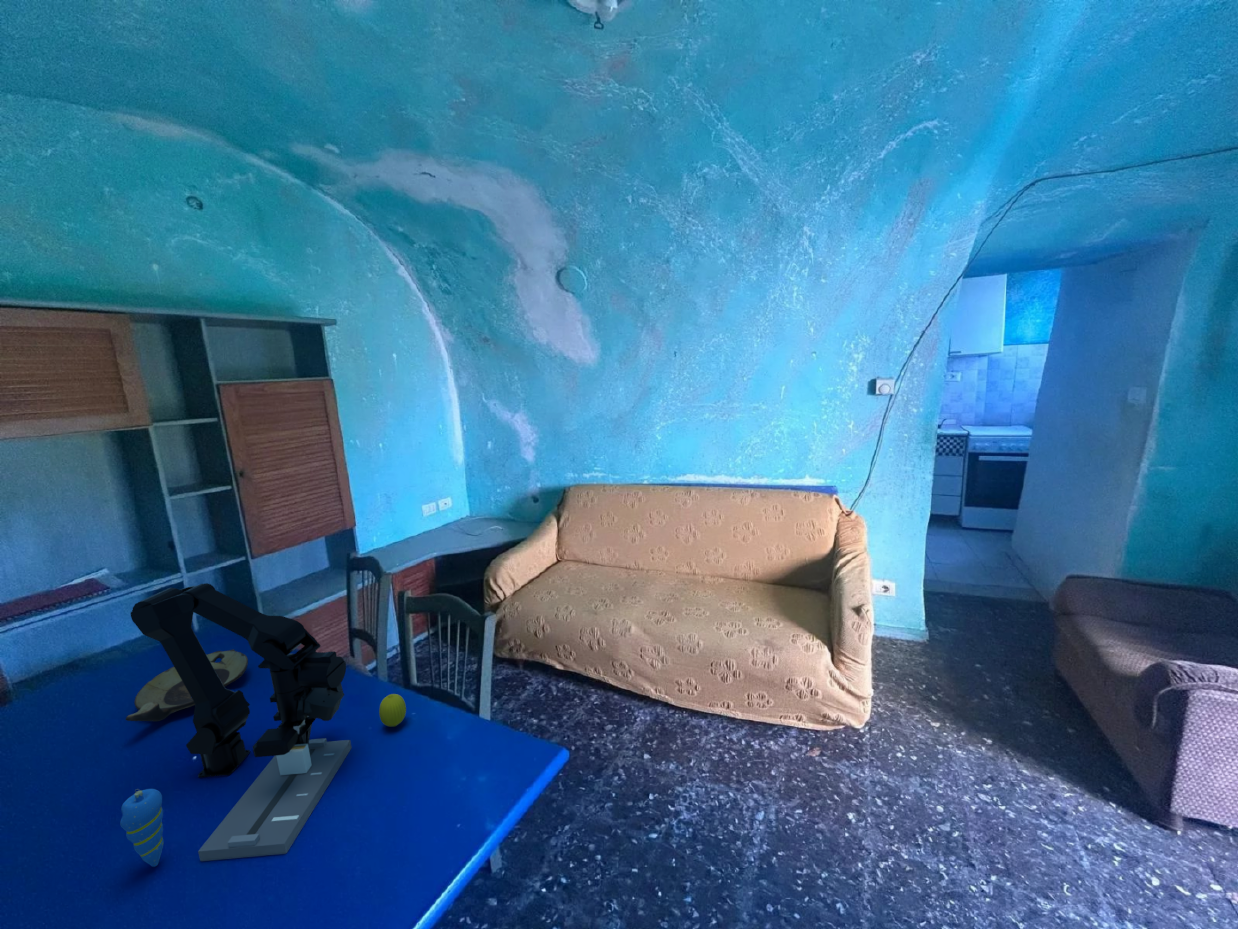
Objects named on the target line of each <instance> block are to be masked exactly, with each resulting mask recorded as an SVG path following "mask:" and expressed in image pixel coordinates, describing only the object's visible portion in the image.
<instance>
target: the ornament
mask: <svg viewBox="0 0 1238 929" xmlns="http://www.w3.org/2000/svg"><path fill="white" fill-rule="evenodd" d="M136 790H137V789H135V790H134V792H135V793H134V794H132V795H131V796H129V797H128V798H127V799H126V800H125V801H124V802H123V803H122V806H121V807H120V808H121V814H122V816H121V819H120V822H119V823H120V824H119V825H120V827H121V828H122V829H123V830H124V831H126V833H125V835H126V836H125V837H126V839H127V840H128V841H129V842H130V843H132V844H133V849H134V851H135V852H136V853H137V854H138V855H139V856H140V858H141V860H142V861H143V862H144V863H146V864H148V865H149V866H151V867H152V868H155V867H157V866H158V865H159V863H160V858H161V855H162V852H163V848H164V844H165V843H164V842H165V841H164V840H165V839H164V836H163V832H164V824H163V822H162V820H163V817H164V809H163V807H162V805H163V804H162V803H163V795H162V793H161V791H160V790H157V789H156V788H146V789H143V790H140V789H138V791H136Z"/></svg>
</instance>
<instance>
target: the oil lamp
mask: <svg viewBox="0 0 1238 929" xmlns="http://www.w3.org/2000/svg"><path fill="white" fill-rule="evenodd" d="M206 655H207V657H208V659H209V661H210V662H211V664H212V666H213V668H214V670H215V671H216V673H217V675H218V677H219V679H220V681H221V682H222V684H223V686H224V687H227V686H229V685H230V684H231V683H234V682H236V681H237V680H238V679H239V678H241V677H242V676H243V675H244V673H245V672H246V671H247V669H248V665H249V659H248V656H247V655H246V654H245V653H243V652H240V651H238V650H235V649H229V650H224V651H223V650H217V651H213V652H211V653H208V654H207V653H206ZM218 659H220V660H221V661H218V662H216V661H217V660H218ZM133 703H134V707H135V709H137V712H135V713H131V714H128V715H126V718H125V719H124V720H125V721H127V722H160V721H163V720H165V719H167V718H168V716H170V715H171V714H173V713H175V712H179V711H183V710H184V709H189V708H191V707H195V703H194V701H193V699H192V697H191V695H190V694H189V692H188V690H187V688H186V687H185V685H184V683H183V681H182V680H181V678H180V676H179V674H178V672H177V671H176V669H175V667H174V666H171V667H169V669H166V670H164V671H163V672H161V673H159V674H157V675H156V676H154V677H153V678H152V679H151V680H148V681H147V682H146V683H145V684H144V686H142V688H140V690H139V691H138V692H137V694H136V696H135V697H134V702H133Z"/></svg>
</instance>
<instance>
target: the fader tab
mask: <svg viewBox="0 0 1238 929" xmlns="http://www.w3.org/2000/svg"><path fill="white" fill-rule="evenodd" d="M276 757H277V762H278V767H279V772H280V775H290V774H302V773H307V771H308V770H309V769H310V767H311V766H312V764H311V758H310V753H309V748H308V744H297V745H294V746H293V747H292V749H291V750H290V751H289V752H288V753H286V754H285V755H276Z"/></svg>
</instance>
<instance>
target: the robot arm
mask: <svg viewBox="0 0 1238 929" xmlns="http://www.w3.org/2000/svg"><path fill="white" fill-rule="evenodd" d="M194 614H196V615H198V616H200V617H202V618H204V619H207V620H208V621H211V622H212V623H214V624H216V625H218V626H220V627H222V628H224V629H226V630H227V631H231V632H232V633H234V634H236V635H237V636H239V637H242V638H243V639H245V640H246V641H247V643H248V645H249V647H250V650H251V651H253V652H254V653H255V654H256V655H258V656H260V657H261V658H263V660H262V661H261V663H259V664H258V665H257V667H258V669H269V674H270V678H271V684H272V687H273V688H272V689H273V693H272V695H271V696H269V702H270V703H276V709H277V712H276V713H275V714H274V715H273V721H274V722H278V721H281V722H280V724H279V725H278V727H277V728H267V729H266V731H265V732H264V733H263V734H262V735H260V738H259V739H258V740H257V741H256V742H254V744H253V745H252V750H253V756H254V757H255V758H262V757H274V756H276V755H285V754H286V753H288V752H289V751H290V750H291V749H292V747H293V746H294V745H297V744H309V740H310V738H311V731H312V728H313V727H312V726H313V723H314V722H315V721H316V720H317V719H319V720H321V721H324V722H328V721H331V720H332V719H333V717H334V716H335V714H336V713H337V711H339V709H340V705H341V701H342V699H343V698H344V697H345V693H344V690H343V686H342V682H343V680H344V679H345V676H346V670H347V664H346V660H345V659H344V658H343V657H341V656H337V652H336V651H333V650H332V651H324V652H323V651H318V649H320V648H321V644H320V643H319V642H318V641H317V639H316V638H315V637H314V636H313V635H312V634H310V632H309V631H308V630H307V629H306V628H305V626H304V625H303V624H302V623H301V622H299V621H298V620H296V619H292V618H290V617H287V616H284V615H267V614H264V613H262V612H260V611H257V610H256V609H254V608H252V607H250V606H248V605H246V604H244V603H242V602H240V601H238V600H236V599H234V598H232V597H230V596H228V595H226V594H225V593H222V592H220V591H218V590H216V588H215V587H214V586H213V585H212V584H210V583H200V584H197V585H191V586H186V587H184V588H181V589H179V588H175V587H168V588H166V589H163V590H162V591H160V592H158V593H155V594H152V595H150V596H149V597H146V598H145V599H142V600H139V601H138V602H136V603H134V605H133V606H132V610H131V611H130V617H131V620H132V622H133V624H134V625H135V626H136V627H137V628H138V630H139V631H140V632H141V634H142V635H143V636H146V637H148V638H150V639H152V640H155V641H158V642H159V643H160V644H161V646H162V648H163V649H164V652H166V655H167V656H168V658H169V660H170V662H171V663H172V665H173V667H175V669H176V671H177V672H178V674H179V676H180V678H181V680H182V681H183V683H184V685H185V687H186V688H187V690H188V692H189V694H190V695H191V698H192V699H193V701H194V703H195V705H194V710H193V718H192V723H193V726H194V728H195V731H196V733H194V735H193V736H192V738H191V739H190V740H189V741H188V742H187V743H186V745H185V746H186V748H187V750H188V751H189V753H190V754H191V755H199V756H200V760H201V763H202V767H203V769H202V770H201V771H200V772H199V773H198V774H197V777H198V778H211V777H213V778H214V777H221V776H223V777H224V776H230V775H231V774H233V773H234V771H235V770H236V769H237V768H238V767H239V766H240V765H241V763H243V761H244V760H245V759H246V758H247V757H248V755H249V754H250V753H251V751H250V749H246V747H245V742H244V741H245V740H244V739H242V736H241V732H240V730H241V729H242V728H243V727H245V726H246V724H247V720H248V718H249V715H250V713H251V710H250V705H251V704H250V703H249V702H248V701H247V700H246V698H245V695H244V692H243V691H241V690H240V689H238V690H236V691H233V690H231V689H228V688H226V686H223V684H222V682H221V681H220V679H219V677H218V675H217V673H216V671H215V670H214V668H213V666H212V664H211V662H210V661H209V659H208V657H207V655H206V654H207V653H206V652H205V650H204V648H203V646H202V645H201V643H200V641H199V639H198V637H197V635H196V633H195V632H194V629H193V628H192V625H193V618H194ZM301 645H302V646H303V647H301V648H300V649H299V650H298V651H296V652H295V653H292V652H293V651H295V650H296V649H297V648H299V646H301Z"/></svg>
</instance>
